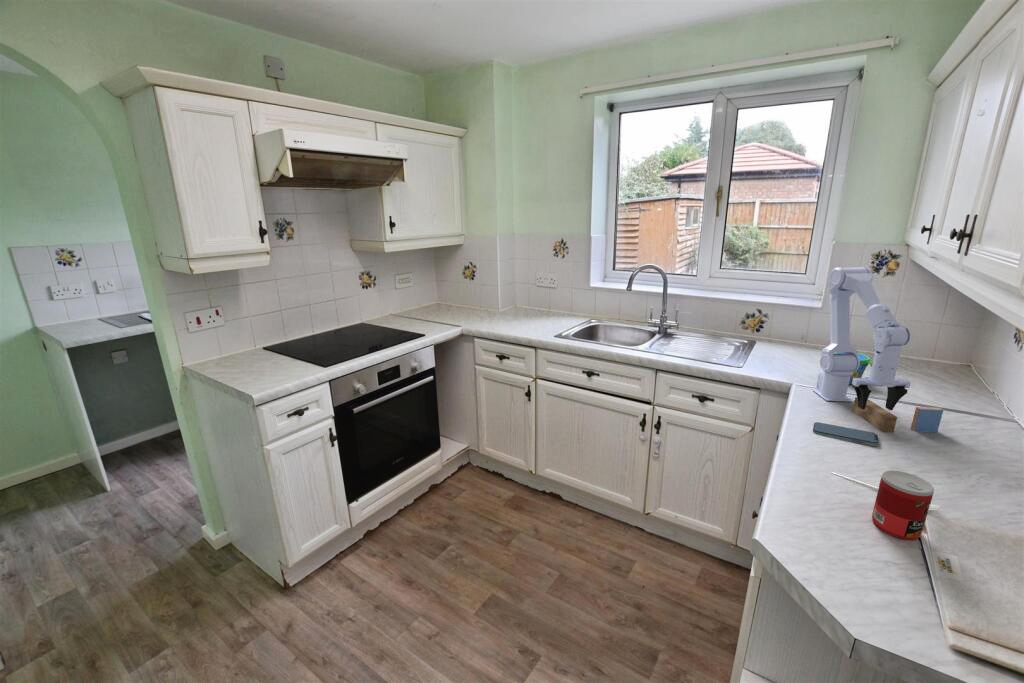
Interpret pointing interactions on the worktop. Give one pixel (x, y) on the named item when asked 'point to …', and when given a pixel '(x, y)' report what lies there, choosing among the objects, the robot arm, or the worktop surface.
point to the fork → (932, 507)
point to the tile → (926, 419)
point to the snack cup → (863, 364)
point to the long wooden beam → (876, 416)
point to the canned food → (902, 504)
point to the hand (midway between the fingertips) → (875, 408)
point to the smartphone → (846, 433)
